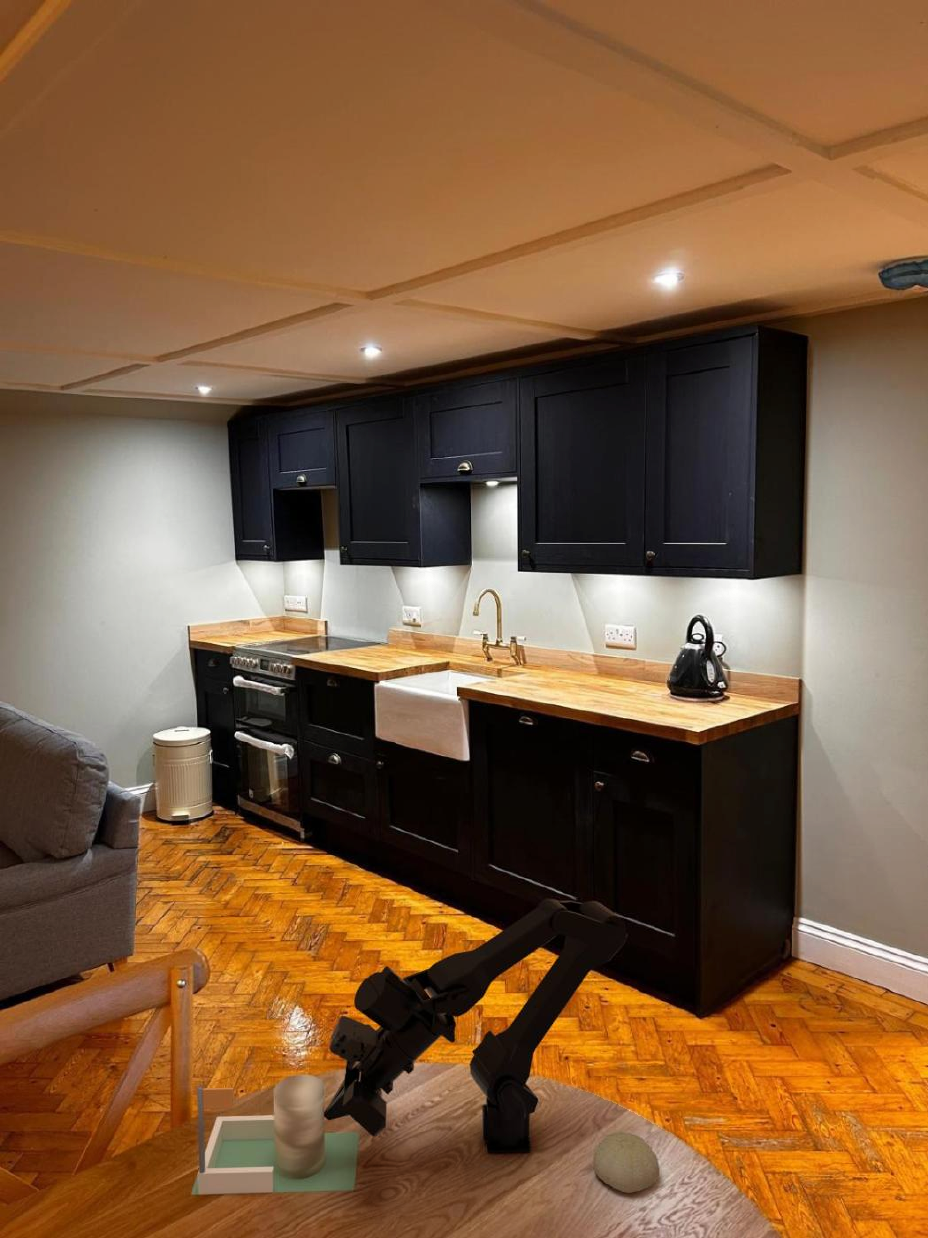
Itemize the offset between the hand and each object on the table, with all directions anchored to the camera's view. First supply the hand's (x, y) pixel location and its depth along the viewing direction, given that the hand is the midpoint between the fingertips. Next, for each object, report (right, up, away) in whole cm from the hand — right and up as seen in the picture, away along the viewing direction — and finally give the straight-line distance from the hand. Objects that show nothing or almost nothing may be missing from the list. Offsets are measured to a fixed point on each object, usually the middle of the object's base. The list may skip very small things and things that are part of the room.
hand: (326, 1116), depth 131 cm
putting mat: (-7, -8, +1) cm, 10 cm away
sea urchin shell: (+42, -9, 0) cm, 43 cm away
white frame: (-12, -7, 0) cm, 13 cm away
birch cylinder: (-4, -7, +1) cm, 8 cm away
